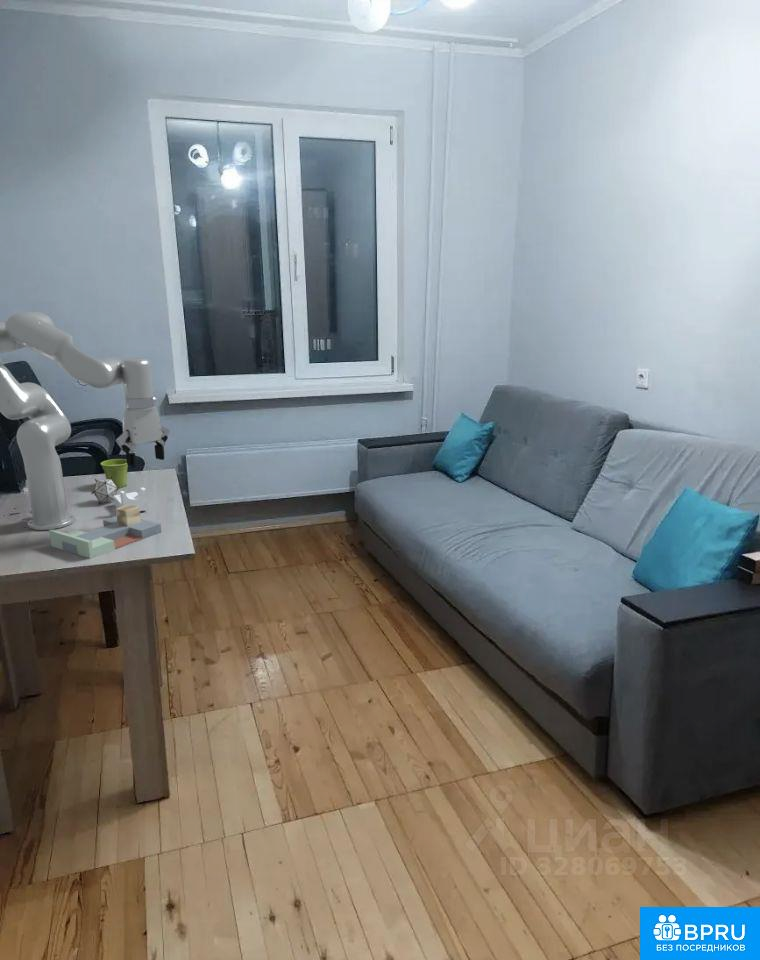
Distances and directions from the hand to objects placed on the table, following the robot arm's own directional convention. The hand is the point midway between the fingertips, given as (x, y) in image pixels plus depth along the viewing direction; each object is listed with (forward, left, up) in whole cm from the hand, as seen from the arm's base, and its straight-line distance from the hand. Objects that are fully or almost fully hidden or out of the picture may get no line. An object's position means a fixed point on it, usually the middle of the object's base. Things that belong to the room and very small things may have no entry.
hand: (146, 462), depth 197 cm
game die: (-31, +7, -19) cm, 37 cm away
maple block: (-1, -7, -16) cm, 18 cm away
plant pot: (-44, +21, -19) cm, 52 cm away
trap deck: (-1, -15, -19) cm, 24 cm away
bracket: (-19, +7, -19) cm, 28 cm away
